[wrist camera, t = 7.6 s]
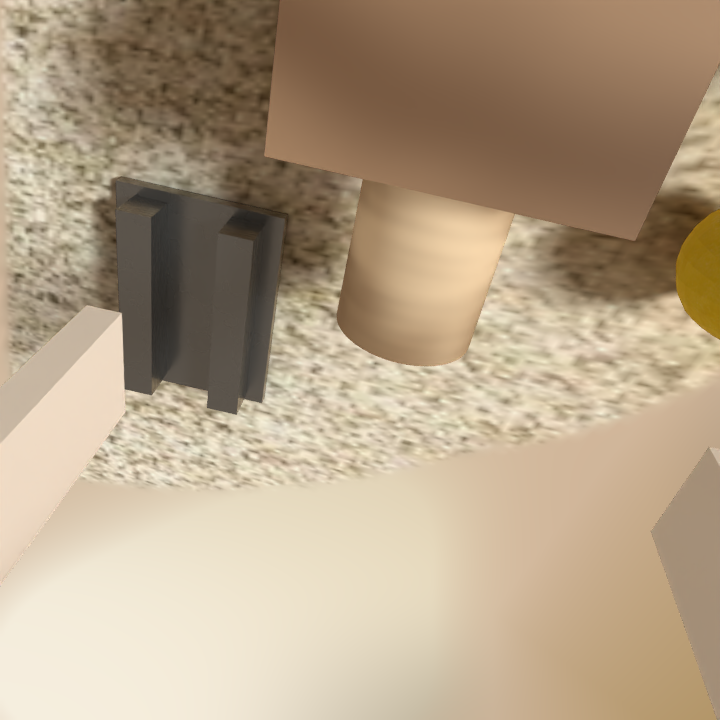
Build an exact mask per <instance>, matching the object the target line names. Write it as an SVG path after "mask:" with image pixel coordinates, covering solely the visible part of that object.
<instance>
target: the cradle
mask: <svg viewBox="0 0 720 720" xmlns="http://www.w3.org/2000/svg"><path fill="white" fill-rule="evenodd" d="M116 204H117V209H115V212H116V238H117V264H118V291H119V312H120V313H122V333H123V361H124V389H126V390H131V391H135V392H140V393H144V394H148V395H152V394H153V393H154V391H155V390H156V388H157V387H158V385H159V384H160V383H161V381H162V380H163V381H168V382H172V383H177V384H181V385H185V386H190V387H194V388H199V389H203V390H207V391H208V401H207V408H210V409H214V410H219V411H223V412H228V413H232V414H236V415H237V413H238V411H239V408H240V406H241V404H242V402H243V400H244V399H247V400H251V401H256V402H260V403H262V402H263V399H264V397H265V389H266V382H267V374H268V366H269V358H270V350H271V343H272V335H273V327H274V319H275V311H276V304H277V296H278V288H279V280H280V272H281V264H282V257H283V249H284V241H285V233H286V225H287V218H288V214H284V213H279V212H275V211H271V210H266V209H262V208H258V207H253V206H249V205H244V204H240V203H236V202H231V201H227V200H223V199H218V198H214V197H209V196H205V195H201V194H196V193H192V192H188V191H183V190H179V189H174V188H170V187H166V186H161V185H157V184H153V183H148V182H144V181H139V180H135V179H131V178H126V177H122V176H121V177H120V178H118V179H117V180H116Z"/></svg>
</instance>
